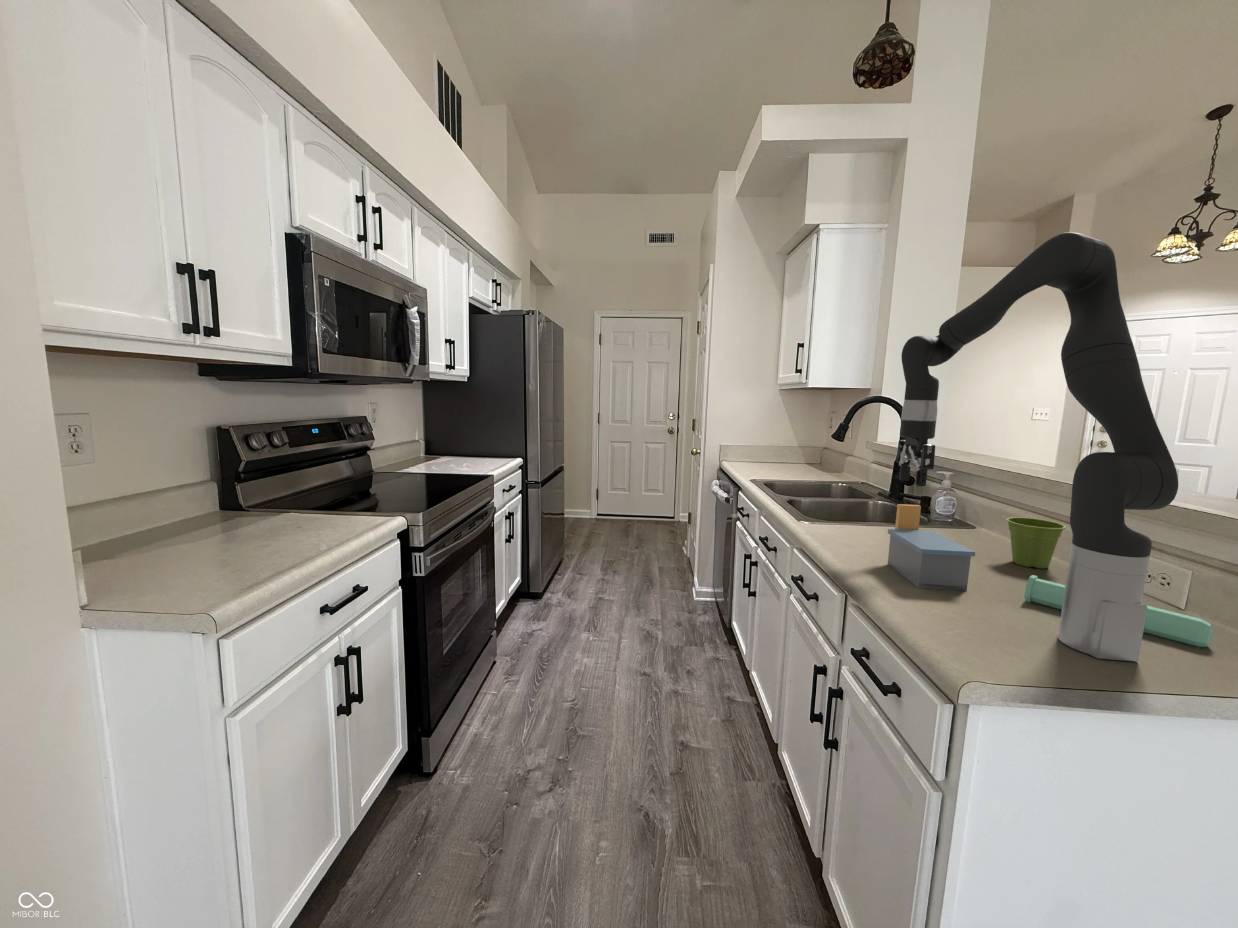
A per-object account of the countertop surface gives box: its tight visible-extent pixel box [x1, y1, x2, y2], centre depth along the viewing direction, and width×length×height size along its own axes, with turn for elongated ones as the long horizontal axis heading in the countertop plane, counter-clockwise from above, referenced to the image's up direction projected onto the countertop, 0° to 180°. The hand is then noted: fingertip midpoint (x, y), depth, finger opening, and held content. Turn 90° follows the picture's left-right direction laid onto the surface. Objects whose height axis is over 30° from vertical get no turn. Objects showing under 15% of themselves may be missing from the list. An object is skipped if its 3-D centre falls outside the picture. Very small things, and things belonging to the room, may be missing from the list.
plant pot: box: [1005, 516, 1067, 570], centre depth 127 cm, size 12×12×11 cm
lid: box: [887, 503, 976, 557], centre depth 117 cm, size 20×11×8 cm, turn 174°
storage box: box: [887, 534, 972, 592], centre depth 116 cm, size 16×10×8 cm, turn 174°
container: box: [1024, 574, 1214, 648], centre depth 94 cm, size 6×6×25 cm
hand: (911, 483), depth 124 cm, fingers open, 8 cm apart
